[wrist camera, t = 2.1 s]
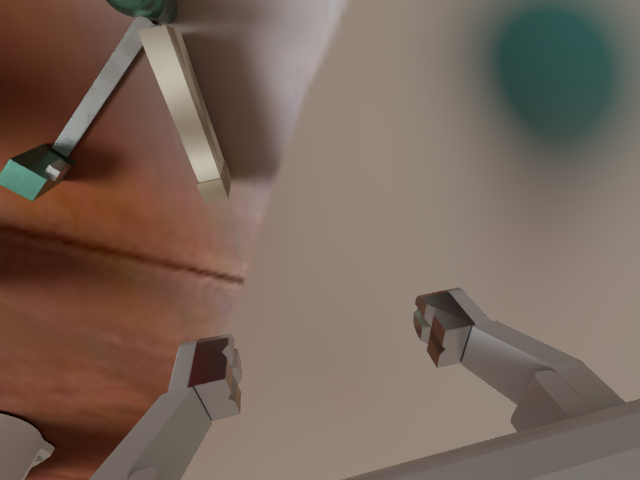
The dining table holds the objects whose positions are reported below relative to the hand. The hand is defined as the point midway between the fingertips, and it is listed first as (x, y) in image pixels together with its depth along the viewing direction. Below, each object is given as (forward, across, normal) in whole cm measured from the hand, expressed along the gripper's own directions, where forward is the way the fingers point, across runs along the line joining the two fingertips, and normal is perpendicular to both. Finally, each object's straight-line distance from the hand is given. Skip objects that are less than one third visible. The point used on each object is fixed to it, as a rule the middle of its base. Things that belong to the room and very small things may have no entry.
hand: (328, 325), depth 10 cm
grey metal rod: (+23, +14, -6) cm, 28 cm away
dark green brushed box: (+23, +20, -1) cm, 31 cm away
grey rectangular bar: (+23, +7, -4) cm, 24 cm away
